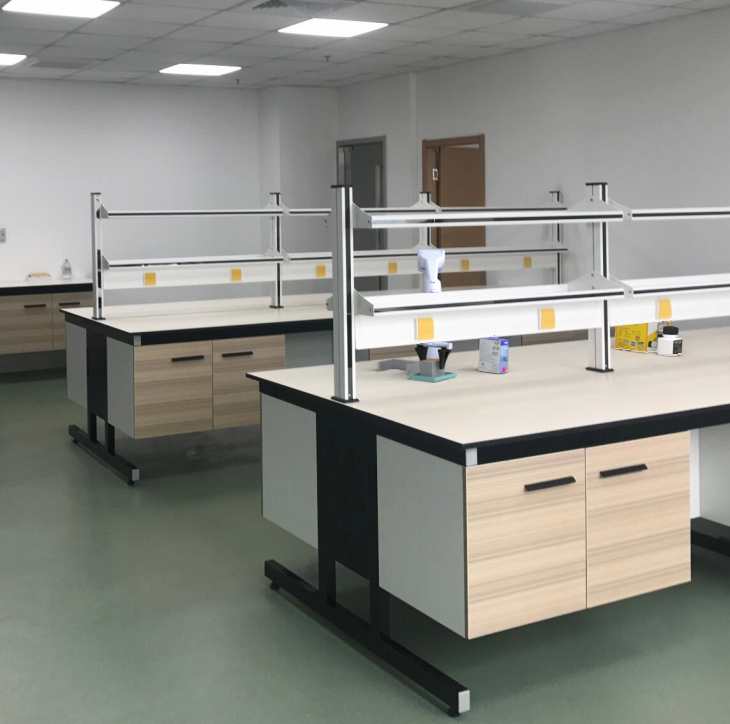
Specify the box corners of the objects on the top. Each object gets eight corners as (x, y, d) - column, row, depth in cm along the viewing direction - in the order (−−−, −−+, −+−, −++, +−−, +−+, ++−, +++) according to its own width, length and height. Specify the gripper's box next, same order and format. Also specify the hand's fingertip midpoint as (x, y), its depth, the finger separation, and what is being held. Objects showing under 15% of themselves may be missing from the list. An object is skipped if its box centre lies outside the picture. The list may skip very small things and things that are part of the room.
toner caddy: (432, 374, 343) (432, 356, 342) (444, 376, 340) (444, 357, 339) (419, 377, 337) (420, 359, 336) (431, 379, 334) (432, 360, 333)
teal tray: (430, 374, 347) (430, 369, 347) (456, 377, 341) (456, 372, 340) (408, 379, 336) (408, 374, 336) (434, 382, 330) (434, 378, 329)
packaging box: (637, 346, 421) (640, 288, 417) (669, 350, 408) (673, 291, 405) (614, 349, 411) (616, 290, 407) (646, 353, 398) (649, 293, 395)
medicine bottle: (672, 357, 389) (674, 327, 387) (656, 355, 394) (658, 326, 392) (681, 355, 393) (683, 326, 392) (666, 353, 399) (667, 324, 397)
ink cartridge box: (509, 372, 351) (510, 332, 348) (499, 374, 347) (500, 334, 344) (487, 369, 357) (487, 330, 355) (477, 371, 354) (478, 331, 351)
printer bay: (393, 367, 360) (393, 358, 360) (423, 371, 352) (423, 362, 352) (377, 371, 353) (377, 361, 352) (408, 375, 344) (408, 365, 344)
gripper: (409, 328, 337) (408, 367, 339) (444, 331, 328) (444, 371, 330) (420, 326, 342) (420, 364, 345) (455, 329, 334) (455, 368, 336)
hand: (432, 367), depth 338 cm, fingers open, 7 cm apart
